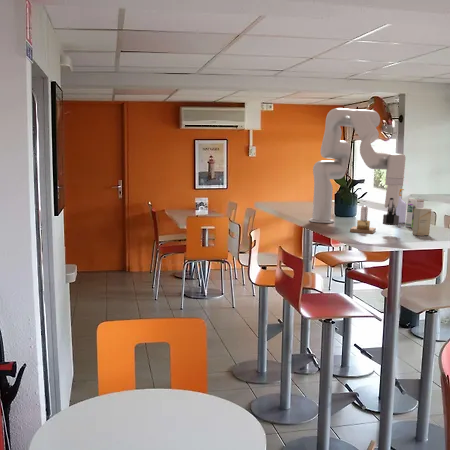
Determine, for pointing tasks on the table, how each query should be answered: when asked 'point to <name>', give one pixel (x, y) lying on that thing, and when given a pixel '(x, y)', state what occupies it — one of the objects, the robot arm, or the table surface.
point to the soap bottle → (401, 209)
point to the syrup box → (412, 210)
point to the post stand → (363, 223)
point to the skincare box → (421, 221)
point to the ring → (396, 220)
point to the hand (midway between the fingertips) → (390, 222)
